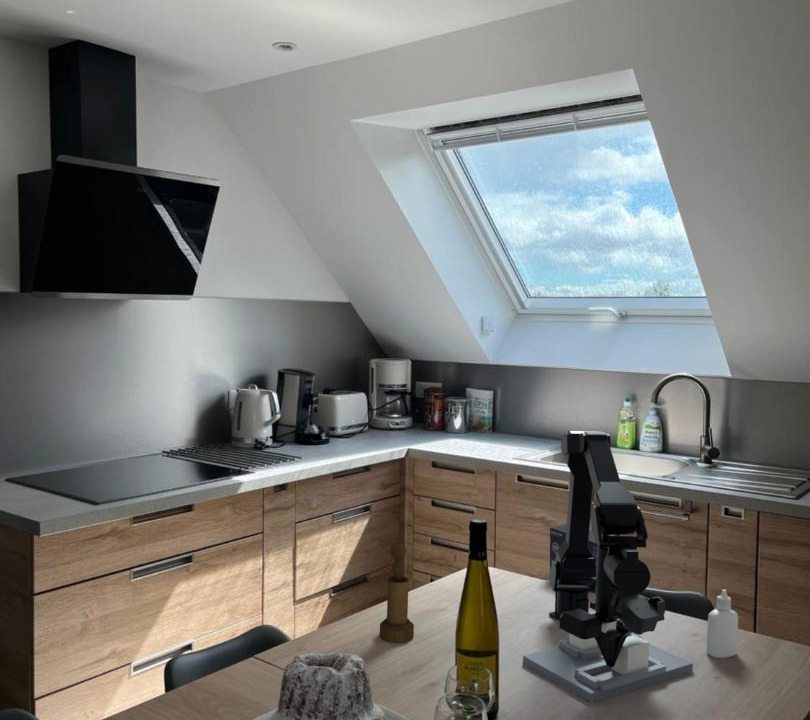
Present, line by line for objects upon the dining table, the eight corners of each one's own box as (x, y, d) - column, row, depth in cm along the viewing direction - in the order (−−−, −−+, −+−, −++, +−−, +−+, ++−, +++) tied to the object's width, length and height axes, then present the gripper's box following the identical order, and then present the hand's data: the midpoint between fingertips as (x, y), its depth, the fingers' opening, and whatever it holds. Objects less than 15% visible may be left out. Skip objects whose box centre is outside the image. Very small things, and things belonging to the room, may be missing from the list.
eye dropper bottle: (702, 648, 156) (705, 585, 156) (734, 650, 156) (737, 587, 155) (708, 658, 152) (711, 593, 151) (740, 660, 151) (743, 595, 151)
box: (547, 576, 198) (549, 526, 197) (568, 571, 201) (569, 522, 201) (601, 597, 184) (602, 543, 183) (622, 592, 187) (624, 539, 187)
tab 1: (569, 647, 151) (569, 620, 151) (589, 642, 154) (590, 615, 154) (582, 654, 148) (583, 627, 148) (603, 649, 151) (604, 622, 151)
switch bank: (522, 663, 148) (522, 649, 148) (619, 638, 160) (620, 625, 160) (592, 703, 133) (592, 688, 133) (693, 671, 146) (693, 657, 146)
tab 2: (611, 669, 142) (612, 640, 142) (632, 663, 145) (633, 635, 145) (627, 677, 139) (628, 647, 139) (647, 671, 142) (649, 642, 142)
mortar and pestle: (419, 640, 157) (421, 546, 156) (386, 645, 155) (388, 549, 154) (406, 628, 163) (407, 537, 162) (374, 632, 161) (376, 539, 160)
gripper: (608, 598, 127) (604, 698, 128) (691, 580, 137) (687, 673, 138) (558, 577, 137) (555, 670, 137) (639, 561, 146) (635, 648, 147)
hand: (610, 666), depth 140 cm, fingers closed
